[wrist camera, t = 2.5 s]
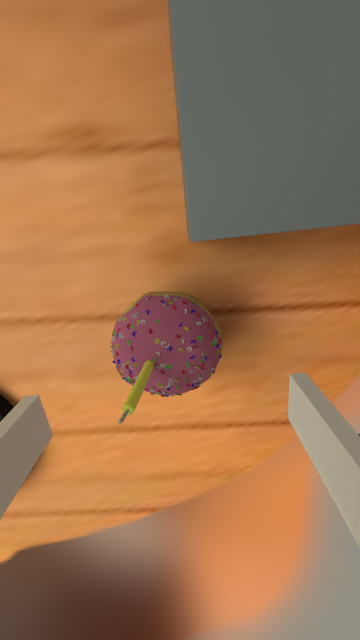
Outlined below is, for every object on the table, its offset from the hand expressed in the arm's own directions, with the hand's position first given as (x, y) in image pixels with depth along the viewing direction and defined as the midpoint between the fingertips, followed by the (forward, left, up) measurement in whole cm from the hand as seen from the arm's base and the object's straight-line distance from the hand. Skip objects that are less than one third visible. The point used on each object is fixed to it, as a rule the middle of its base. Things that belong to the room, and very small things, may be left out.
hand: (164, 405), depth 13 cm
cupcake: (0, 0, -11) cm, 11 cm away
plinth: (-14, +9, -11) cm, 20 cm away
